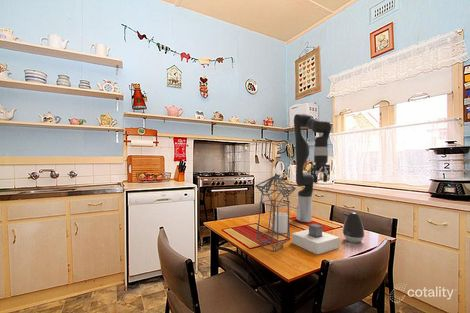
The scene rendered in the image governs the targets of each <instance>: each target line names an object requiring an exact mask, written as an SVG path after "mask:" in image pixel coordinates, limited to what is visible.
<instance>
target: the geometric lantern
mask: <svg viewBox="0 0 470 313" xmlns="http://www.w3.org/2000/svg"><path fill="white" fill-rule="evenodd" d="M284 183H285V184H287V185H288V186H289V187H287V186H286V185H285V184H284ZM262 184H264V185H262ZM272 186H274V187H275V188H276V189H271V187H272ZM254 188H257V189H258V191H260V193H261V196H260V202H259V212H258V219H257V220H258V222H257V227H256V228H257V229H256V234H255V235H256V238H257V240H258V241H259V242H260V243H261V245H260V247H261V248H262V249H265V250H268V251H270V252H277V251H279V250H281V249H283V248H284V244H286V243H287V242H289V241H291V238H290V237H291V236H290V234H291V230H290V203H289V201H290V200H289V196H291V194H292V193H293V192H294V191H295V190H297V188H296V187H295V186H293V185H292V184H290V183H289V182H287V181H285V180H284V179H282V178H280V177H279V176H278V175H273V176H272V177H269V178H267V179H266V180H263V181H262V182H260V183H258V184H256V185H254ZM269 191H270V192H269ZM276 192H279V194H277V196H276V197H275V199H273V198H272V197H271V195H273V194H274V193H276ZM281 194H282V198H281V199H280V200H277V199H278V198H279V196H280V195H281ZM264 196H267V197H268V200H263V199H264ZM284 198H286V201H287V202H285V201H283V199H284ZM264 202H270V204H269V203H268V204H267V203H264ZM273 202H274V203H273ZM276 202H278V203H277V204H276ZM280 203H283V204H282V205H280ZM262 205H266V206H270V211H269V217H270V219H271V216H272V215H273V218H272V219H271V220H272V223H271V224H272V227H271V226H270V222H271V221H270V219H269V218H268V219H269V223H268V229H267V232H263V233H261V234H259V231H260V222H261V212H262ZM285 206H287V214H288V227H287V233H286V235H284V234H283V235H282V234H281V233H278V213H279V208H281V207H285ZM275 213H277V232H275V231H274V227H275ZM273 225H274V226H273ZM270 227H271V231H270ZM265 234H267V235H268V238H267V239H263V238H261V237H259V236H263V235H265ZM270 234H271V237H270ZM274 235H276V239H274ZM279 236H280V237H283V238H285V239H283V241H280V240H279ZM274 241H275V242H276V243H274ZM265 245H266V246H269V247H271V248H272V249H270V248H266V247H264V246H265ZM274 245H275V246H274ZM278 247H279V248H278ZM277 248H278V249H277Z"/></svg>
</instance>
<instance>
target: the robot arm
mask: <svg viewBox="0 0 470 313" xmlns="http://www.w3.org/2000/svg"><path fill="white" fill-rule="evenodd" d="M293 128H294V135H295V136H294V137H295V139H294V140H295V159H296V160H295V162H296V163H295V164H296V166H295V168H296V169H295V183H296V185H297V186H298V187H303V189H301V190H299V191H298V192H297V206H296V220H297V221H298V222H302V223H310V222H312V210H313V209H312V208H313V206H312V203H313V202H312V198H313V190H314V184H315V183H316V184H318V176H319V174H320V173H322V175H323V177H322V182H323V183H327V182H328V175H331V165H330V164H327V163H328V162H329V161H328V160H329V159H328V158H329V156H328V155H329V150H328V146H329V145H328V142H329V137H330V133H331V131H332V123H331V122H330V121H328V120H320V119H318V118H317V119H316V118H314V117H312V116H311V115H309V114H307V113H306V114H305V113H302V114H301V113H300V114H299V113H297V114H294V117H293ZM302 128H308V129H310V130H312V132H313V133H316V134H317V133H318V134H319V133H320V134H322V135H320V136H317V137H315V139H314V149H313V151H314V152H313V153H314V154H313V162H314V163H315V164H311V165H310V172H304V165H305V163H306V161H307V160H308V158H309V156H310V145H309V143H308V140H307V139H306V137H304V135H303V132H302V130H301V129H302Z"/></svg>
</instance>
